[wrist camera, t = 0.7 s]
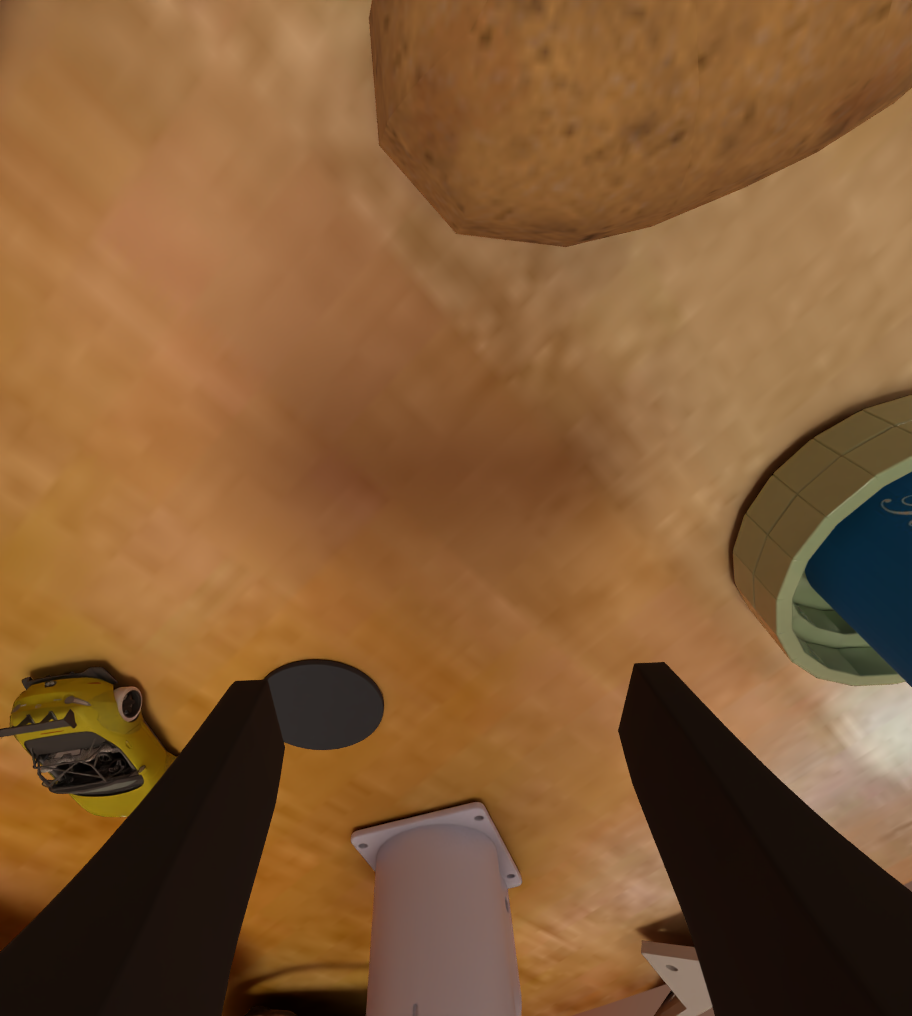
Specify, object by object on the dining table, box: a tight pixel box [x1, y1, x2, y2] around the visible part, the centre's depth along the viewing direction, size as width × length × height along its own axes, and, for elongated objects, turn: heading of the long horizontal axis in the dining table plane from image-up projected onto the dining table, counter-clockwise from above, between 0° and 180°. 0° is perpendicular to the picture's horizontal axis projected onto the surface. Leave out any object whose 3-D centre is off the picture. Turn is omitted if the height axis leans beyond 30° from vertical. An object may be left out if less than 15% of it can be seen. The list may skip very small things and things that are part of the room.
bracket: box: [641, 941, 712, 1016], centre depth 41 cm, size 12×4×15 cm
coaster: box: [264, 660, 384, 750], centre depth 25 cm, size 6×6×1 cm
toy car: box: [0, 667, 177, 817], centre depth 24 cm, size 5×10×3 cm, turn 8°
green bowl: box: [733, 395, 912, 686], centre depth 20 cm, size 11×11×4 cm
